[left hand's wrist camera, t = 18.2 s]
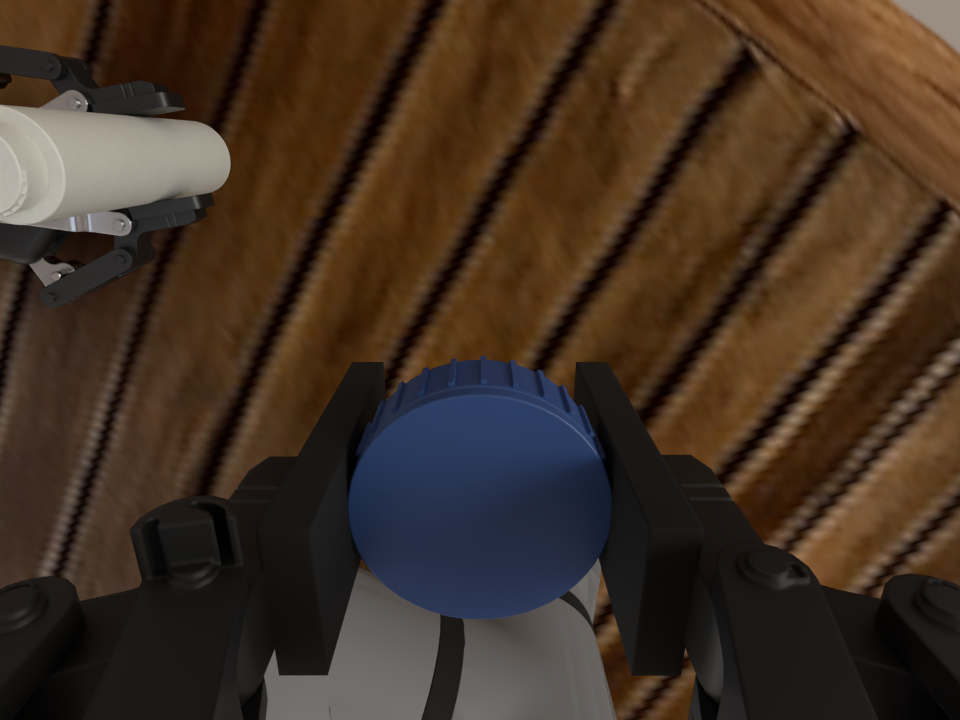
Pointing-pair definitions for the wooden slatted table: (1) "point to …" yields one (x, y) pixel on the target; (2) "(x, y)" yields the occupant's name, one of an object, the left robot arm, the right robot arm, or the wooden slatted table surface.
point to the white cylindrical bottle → (100, 162)
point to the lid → (480, 491)
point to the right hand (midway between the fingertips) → (190, 151)
